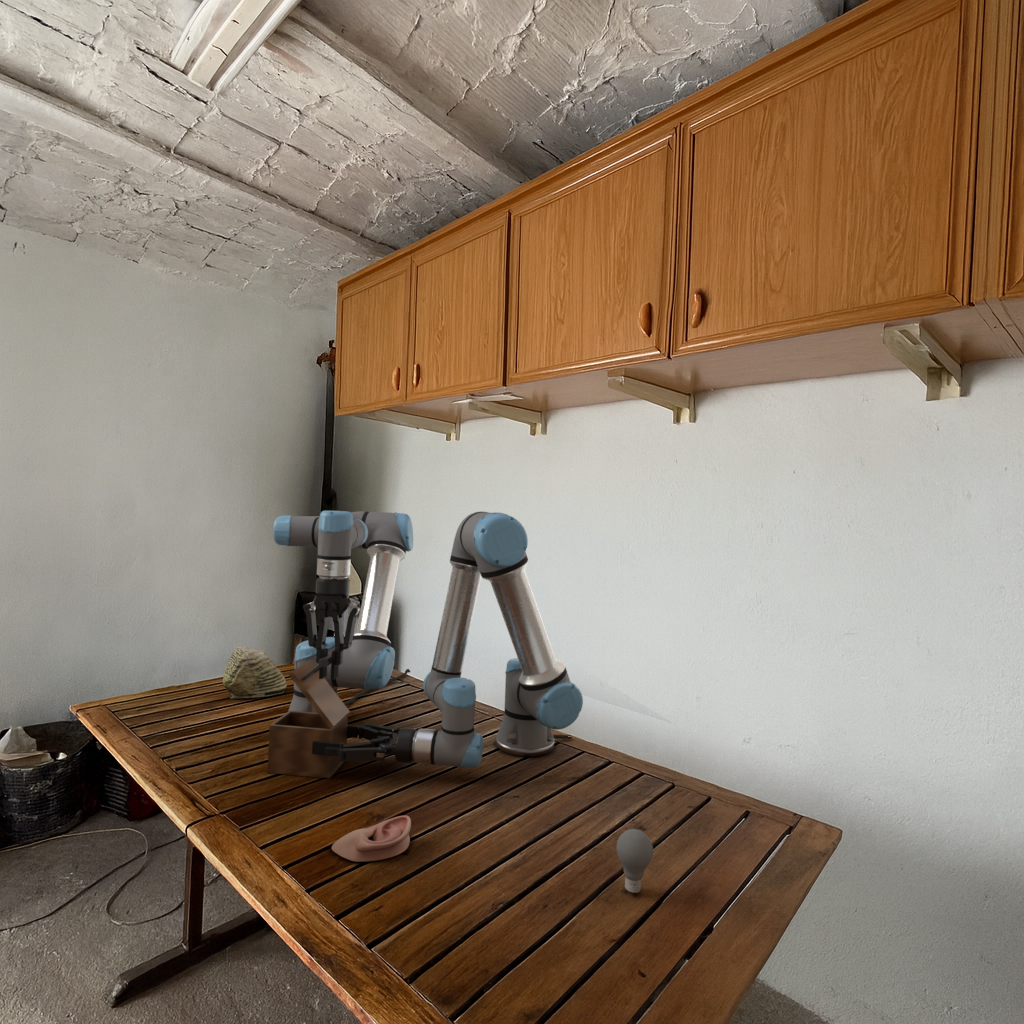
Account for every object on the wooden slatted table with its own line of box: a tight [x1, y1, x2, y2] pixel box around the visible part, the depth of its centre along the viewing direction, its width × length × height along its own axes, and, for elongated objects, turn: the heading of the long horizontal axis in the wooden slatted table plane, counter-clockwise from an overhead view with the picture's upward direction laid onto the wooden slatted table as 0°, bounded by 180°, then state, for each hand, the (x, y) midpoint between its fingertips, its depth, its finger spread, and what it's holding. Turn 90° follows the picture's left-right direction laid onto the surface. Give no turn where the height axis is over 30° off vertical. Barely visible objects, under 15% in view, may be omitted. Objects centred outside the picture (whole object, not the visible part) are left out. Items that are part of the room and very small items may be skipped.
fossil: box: [222, 646, 288, 699], centre depth 198 cm, size 9×18×15 cm, turn 132°
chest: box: [267, 711, 349, 779], centre depth 148 cm, size 15×10×11 cm
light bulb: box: [615, 828, 654, 894], centre depth 106 cm, size 6×6×10 cm
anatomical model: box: [331, 814, 412, 863], centre depth 116 cm, size 13×4×12 cm
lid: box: [288, 653, 350, 729], centre depth 148 cm, size 16×10×8 cm
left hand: (328, 677), depth 147 cm, fingers closed on lid, 2 cm apart
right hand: (322, 738), depth 148 cm, fingers closed on chest, 10 cm apart
